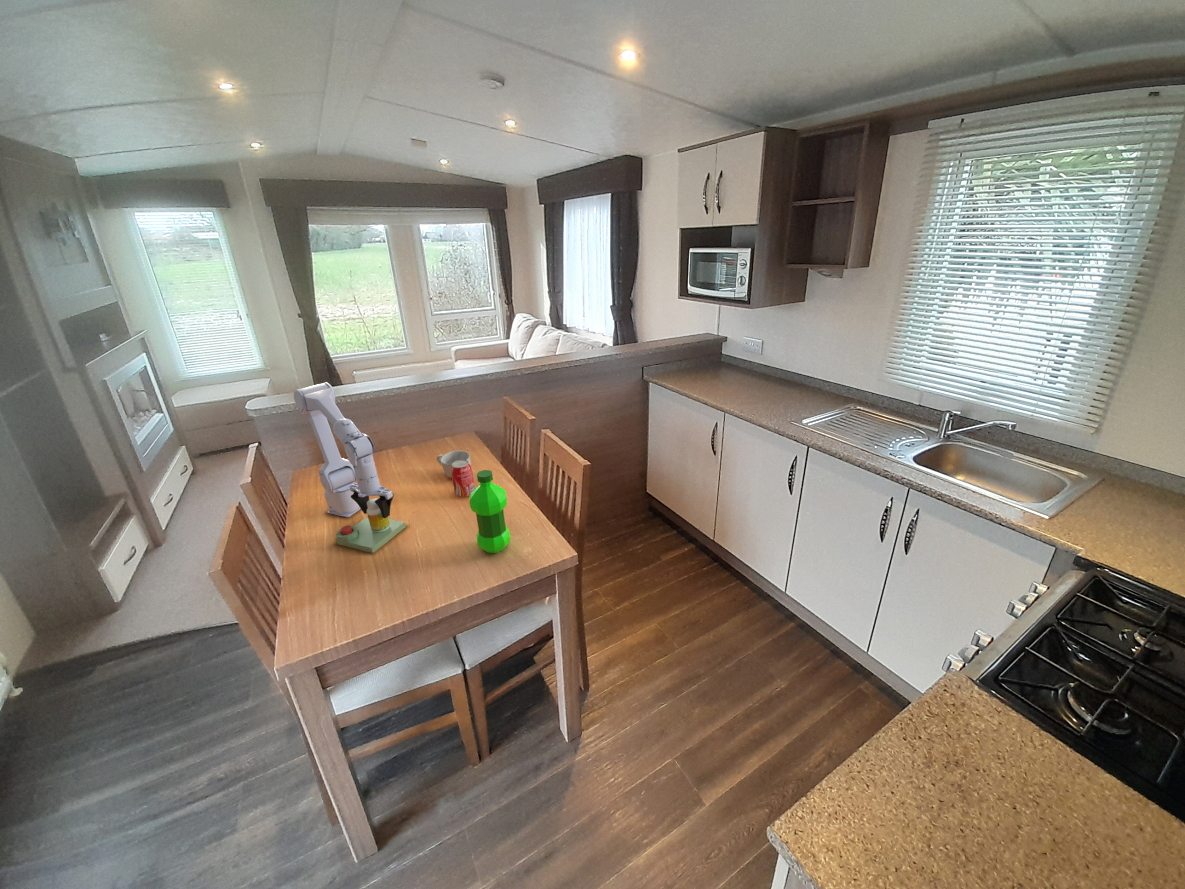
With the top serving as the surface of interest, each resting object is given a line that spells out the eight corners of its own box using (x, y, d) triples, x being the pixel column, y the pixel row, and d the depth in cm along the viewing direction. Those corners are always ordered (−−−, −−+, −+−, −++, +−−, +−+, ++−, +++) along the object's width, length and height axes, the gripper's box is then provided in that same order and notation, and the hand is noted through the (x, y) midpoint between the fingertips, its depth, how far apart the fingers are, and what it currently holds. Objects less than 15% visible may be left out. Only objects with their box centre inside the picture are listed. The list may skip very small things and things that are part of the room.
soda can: (456, 488, 173) (451, 459, 168) (476, 487, 173) (472, 458, 168) (453, 499, 167) (448, 468, 161) (473, 497, 167) (469, 467, 162)
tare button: (339, 534, 144) (338, 530, 143) (347, 528, 146) (346, 524, 146) (347, 536, 143) (345, 532, 142) (354, 530, 145) (353, 526, 145)
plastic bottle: (518, 550, 139) (509, 475, 129) (484, 563, 134) (472, 486, 124) (505, 533, 147) (495, 461, 136) (472, 545, 142) (459, 471, 132)
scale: (334, 544, 144) (331, 535, 143) (370, 519, 157) (368, 510, 155) (371, 554, 140) (369, 544, 138) (405, 527, 152) (403, 518, 150)
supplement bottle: (383, 533, 146) (376, 506, 141) (367, 532, 147) (360, 505, 142) (393, 523, 150) (386, 497, 146) (378, 522, 151) (371, 496, 147)
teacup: (478, 472, 184) (475, 453, 181) (457, 484, 176) (454, 465, 172) (453, 464, 191) (450, 446, 187) (432, 475, 183) (428, 457, 179)
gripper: (337, 478, 140) (348, 517, 145) (375, 485, 135) (386, 525, 141) (356, 467, 146) (366, 505, 151) (393, 474, 141) (402, 513, 146)
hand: (377, 514), depth 146 cm, fingers open, 7 cm apart
